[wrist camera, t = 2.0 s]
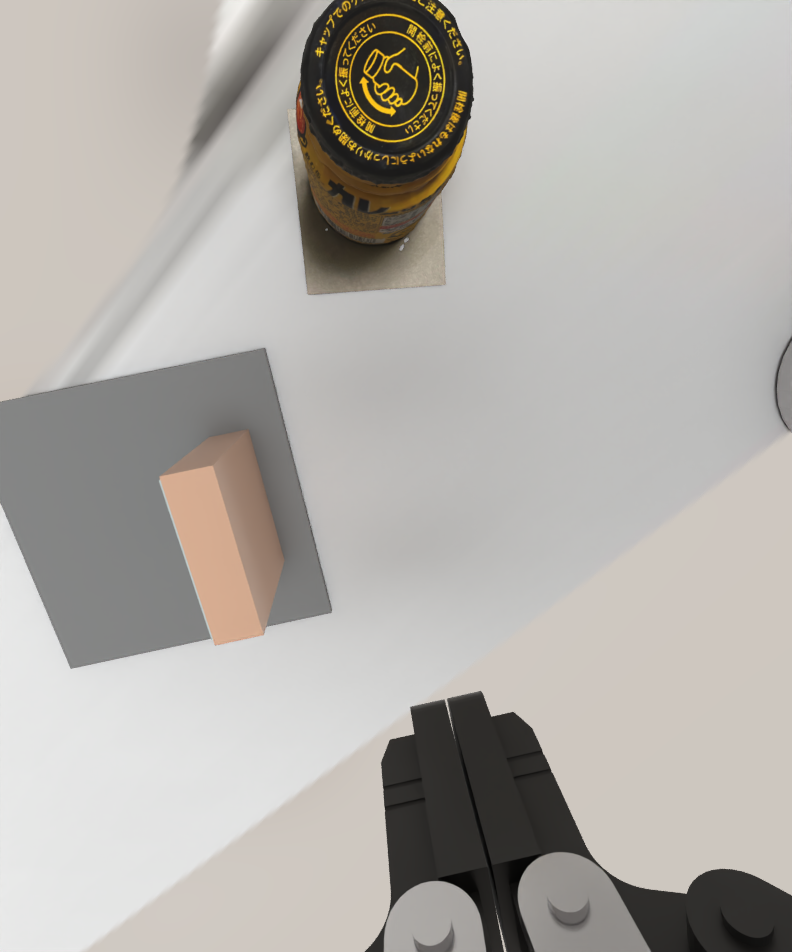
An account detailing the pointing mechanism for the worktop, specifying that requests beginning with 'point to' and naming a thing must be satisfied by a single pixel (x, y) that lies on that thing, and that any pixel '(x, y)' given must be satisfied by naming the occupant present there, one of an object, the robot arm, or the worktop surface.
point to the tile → (226, 534)
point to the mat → (141, 501)
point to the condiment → (378, 142)
